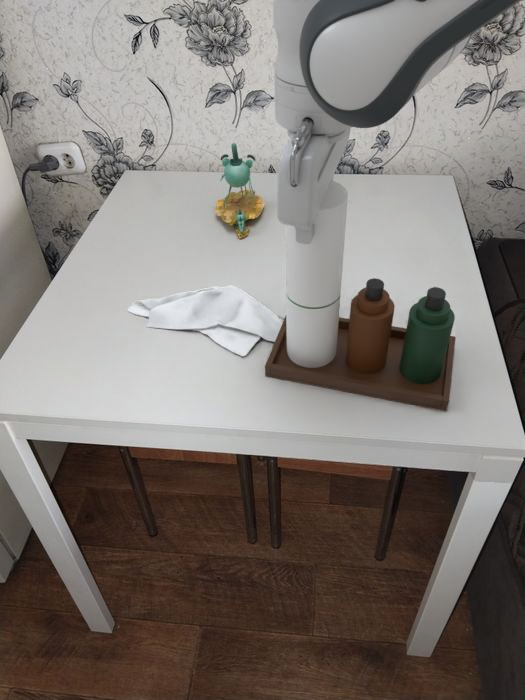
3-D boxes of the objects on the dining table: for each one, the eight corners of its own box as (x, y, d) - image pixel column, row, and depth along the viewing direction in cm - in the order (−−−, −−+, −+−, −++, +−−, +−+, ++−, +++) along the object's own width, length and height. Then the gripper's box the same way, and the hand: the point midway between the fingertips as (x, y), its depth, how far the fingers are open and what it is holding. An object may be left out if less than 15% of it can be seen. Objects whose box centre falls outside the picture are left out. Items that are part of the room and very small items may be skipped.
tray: (453, 346, 85) (455, 336, 84) (446, 411, 77) (449, 401, 75) (288, 318, 91) (288, 308, 89) (265, 376, 82) (264, 366, 81)
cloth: (308, 310, 91) (308, 298, 90) (267, 368, 83) (266, 356, 81) (169, 269, 101) (167, 258, 99) (120, 318, 92) (117, 307, 91)
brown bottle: (388, 349, 84) (400, 273, 75) (382, 377, 81) (394, 300, 71) (350, 342, 86) (357, 267, 76) (342, 369, 82) (348, 293, 73)
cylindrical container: (336, 334, 87) (347, 178, 70) (336, 368, 82) (347, 210, 65) (288, 332, 88) (287, 178, 70) (284, 366, 83) (283, 209, 65)
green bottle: (442, 359, 83) (461, 282, 73) (439, 387, 79) (458, 310, 69) (402, 352, 84) (415, 275, 75) (396, 379, 80) (410, 303, 71)
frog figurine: (202, 238, 108) (194, 158, 99) (225, 198, 122) (220, 124, 113) (253, 241, 106) (250, 160, 97) (271, 200, 120) (269, 126, 111)
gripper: (326, 148, 52) (321, 273, 62) (365, 68, 66) (356, 180, 76) (258, 141, 54) (263, 265, 64) (310, 64, 68) (308, 175, 77)
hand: (314, 218), depth 70 cm, fingers open, 8 cm apart
